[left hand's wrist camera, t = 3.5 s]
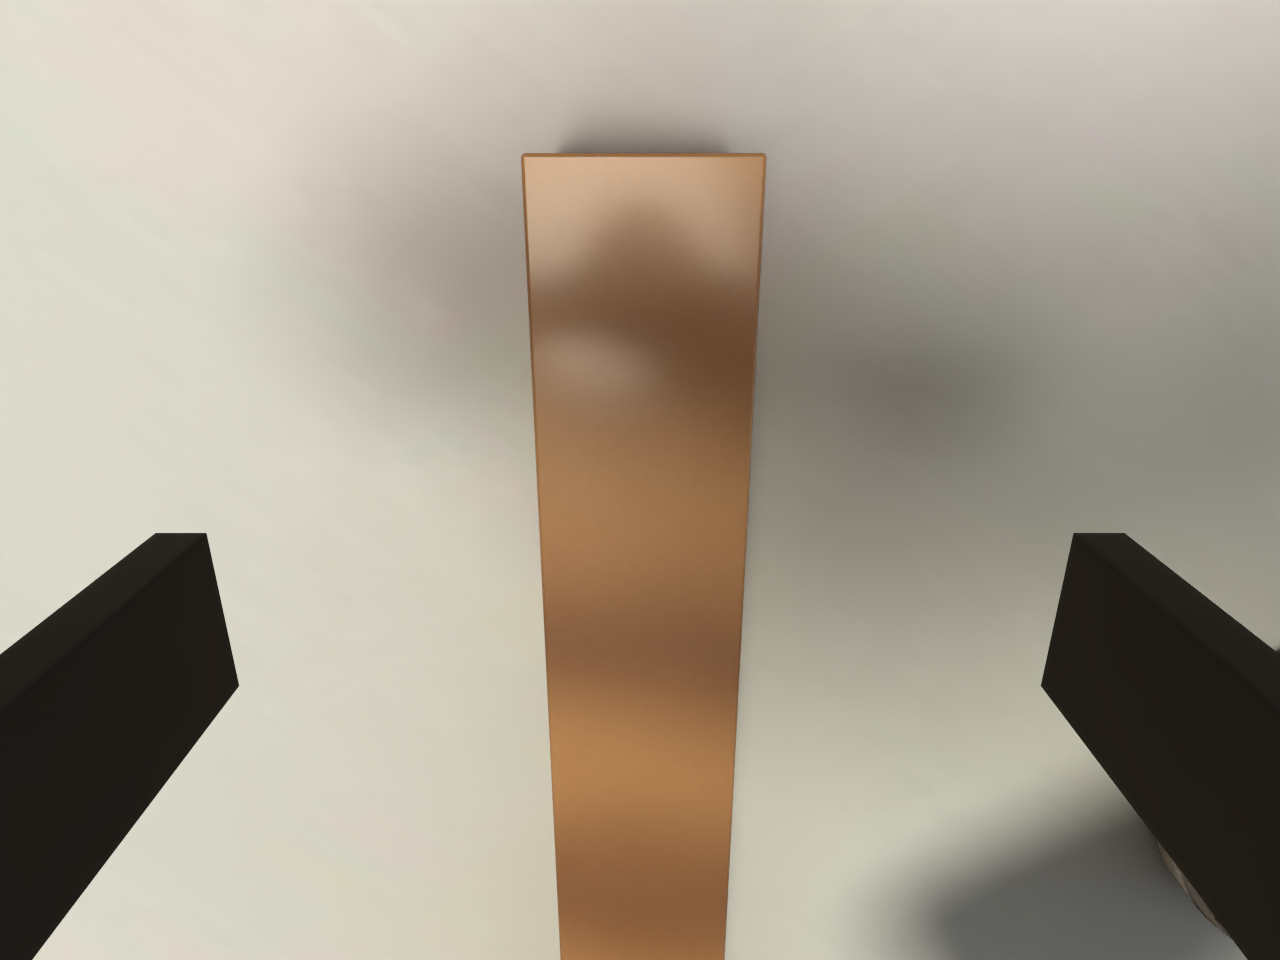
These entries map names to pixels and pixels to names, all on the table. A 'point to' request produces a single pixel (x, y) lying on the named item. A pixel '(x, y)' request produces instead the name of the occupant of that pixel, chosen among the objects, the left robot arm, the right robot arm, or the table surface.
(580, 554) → the post
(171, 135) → the table surface
